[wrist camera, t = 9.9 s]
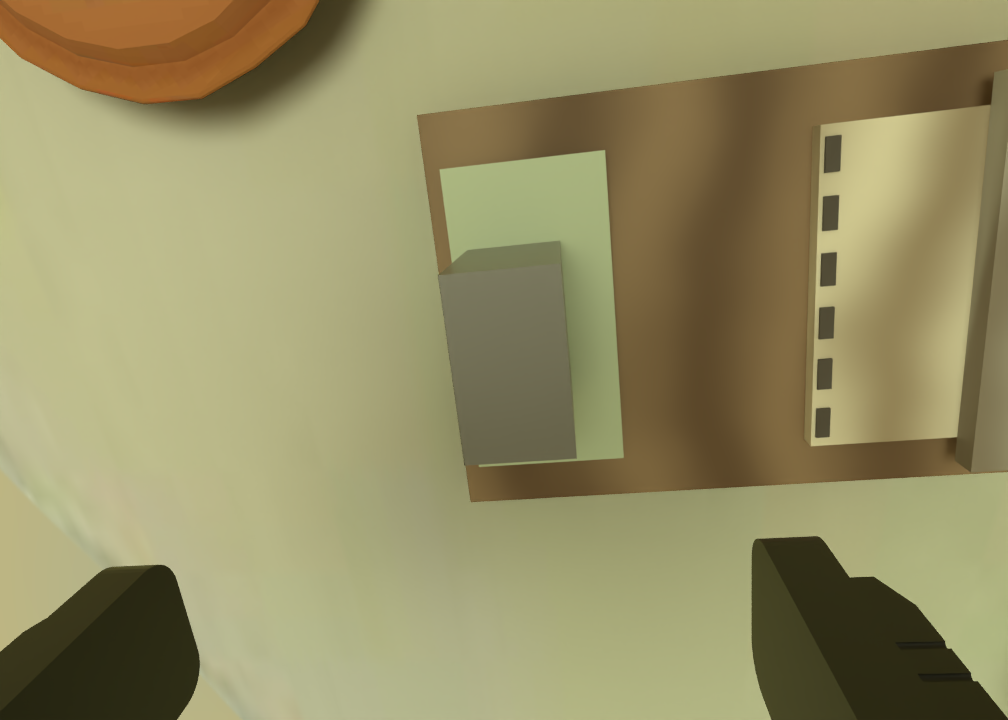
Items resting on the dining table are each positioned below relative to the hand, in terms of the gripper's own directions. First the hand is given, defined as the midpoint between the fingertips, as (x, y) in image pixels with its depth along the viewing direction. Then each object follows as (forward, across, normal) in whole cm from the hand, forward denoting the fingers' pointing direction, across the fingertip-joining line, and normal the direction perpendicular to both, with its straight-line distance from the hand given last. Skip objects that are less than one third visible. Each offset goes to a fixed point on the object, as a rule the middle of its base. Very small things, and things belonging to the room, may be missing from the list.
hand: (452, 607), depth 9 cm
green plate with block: (+17, -1, 0) cm, 17 cm away
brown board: (+19, -8, 0) cm, 20 cm away
